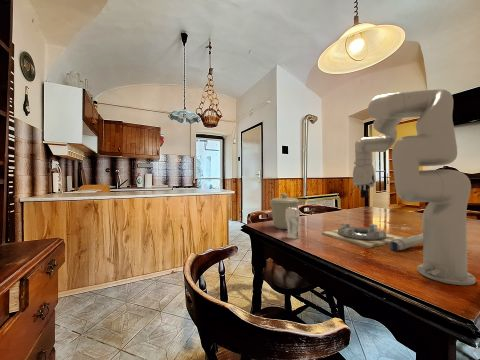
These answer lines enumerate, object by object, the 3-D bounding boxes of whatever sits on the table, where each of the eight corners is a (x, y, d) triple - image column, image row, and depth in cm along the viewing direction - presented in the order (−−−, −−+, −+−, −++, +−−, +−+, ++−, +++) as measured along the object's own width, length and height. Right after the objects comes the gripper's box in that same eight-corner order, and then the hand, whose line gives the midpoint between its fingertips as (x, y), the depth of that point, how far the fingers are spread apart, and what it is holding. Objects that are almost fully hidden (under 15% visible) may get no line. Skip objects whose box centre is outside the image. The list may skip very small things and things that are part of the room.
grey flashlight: (386, 239, 89) (429, 225, 96) (389, 255, 89) (431, 240, 96) (399, 243, 84) (443, 228, 91) (401, 259, 84) (445, 243, 91)
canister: (268, 224, 141) (267, 192, 141) (296, 224, 140) (295, 191, 140) (271, 231, 123) (270, 194, 123) (303, 230, 122) (302, 193, 122)
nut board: (367, 248, 90) (367, 245, 90) (321, 234, 114) (321, 231, 114) (405, 239, 100) (405, 237, 100) (356, 228, 124) (356, 226, 124)
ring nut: (365, 242, 94) (365, 234, 94) (328, 232, 113) (328, 225, 113) (396, 236, 102) (396, 228, 102) (357, 227, 121) (357, 221, 121)
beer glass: (283, 236, 112) (282, 207, 112) (294, 235, 114) (293, 206, 114) (291, 240, 105) (290, 209, 105) (302, 238, 108) (302, 208, 107)
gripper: (346, 164, 120) (347, 197, 120) (372, 162, 106) (372, 199, 107) (356, 164, 123) (356, 196, 123) (382, 162, 109) (382, 198, 110)
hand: (364, 197), depth 115 cm, fingers closed
